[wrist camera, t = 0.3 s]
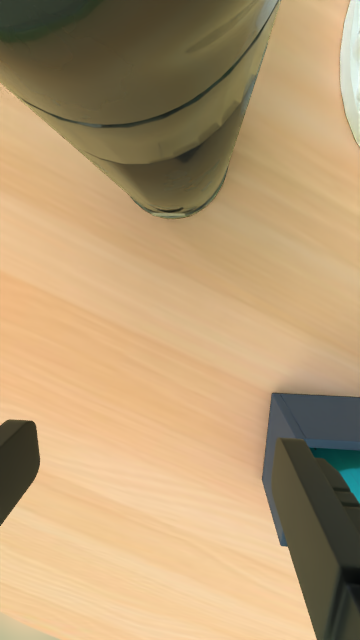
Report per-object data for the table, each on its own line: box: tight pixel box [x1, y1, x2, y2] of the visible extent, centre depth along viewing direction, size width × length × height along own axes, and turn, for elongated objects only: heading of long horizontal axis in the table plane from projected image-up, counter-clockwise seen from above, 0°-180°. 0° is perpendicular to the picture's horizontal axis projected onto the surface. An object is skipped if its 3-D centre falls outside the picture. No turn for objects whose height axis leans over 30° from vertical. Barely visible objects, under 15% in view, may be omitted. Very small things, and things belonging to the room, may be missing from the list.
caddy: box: [262, 393, 360, 547], centre depth 25 cm, size 11×11×7 cm
